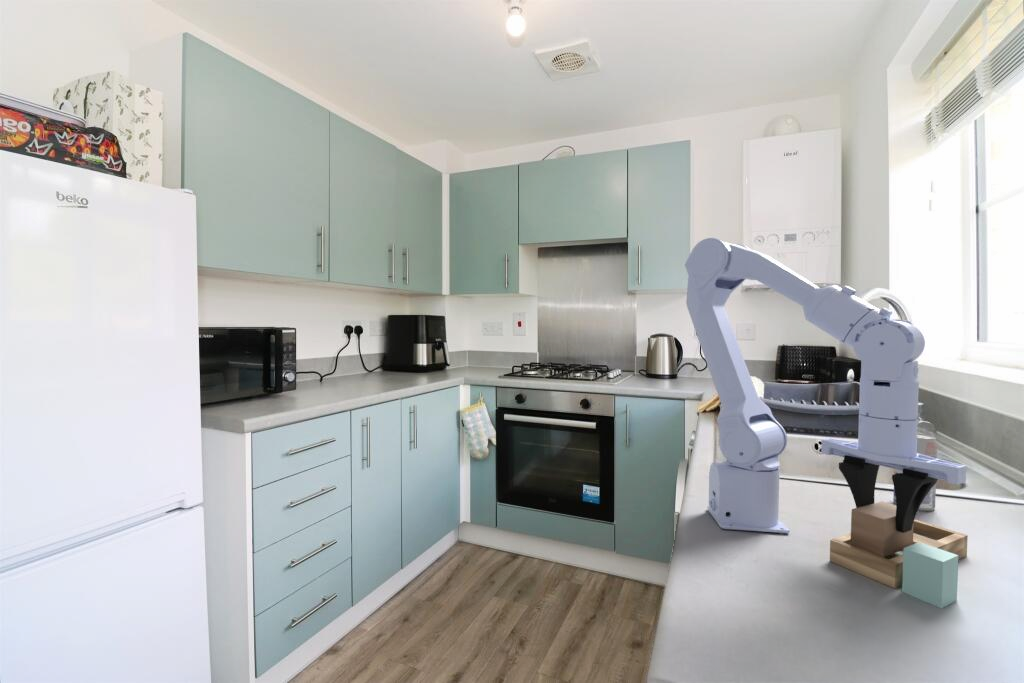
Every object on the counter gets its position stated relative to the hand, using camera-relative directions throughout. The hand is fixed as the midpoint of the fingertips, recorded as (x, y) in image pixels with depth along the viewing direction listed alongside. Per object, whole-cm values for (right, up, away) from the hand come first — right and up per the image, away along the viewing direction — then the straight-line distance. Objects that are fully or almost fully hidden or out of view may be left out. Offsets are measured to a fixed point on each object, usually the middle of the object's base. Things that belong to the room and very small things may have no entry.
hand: (884, 524), depth 58 cm
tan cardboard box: (0, -3, 0) cm, 3 cm away
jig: (+4, -5, +2) cm, 7 cm away
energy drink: (+21, -5, +20) cm, 30 cm away
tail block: (0, -5, -7) cm, 9 cm away
